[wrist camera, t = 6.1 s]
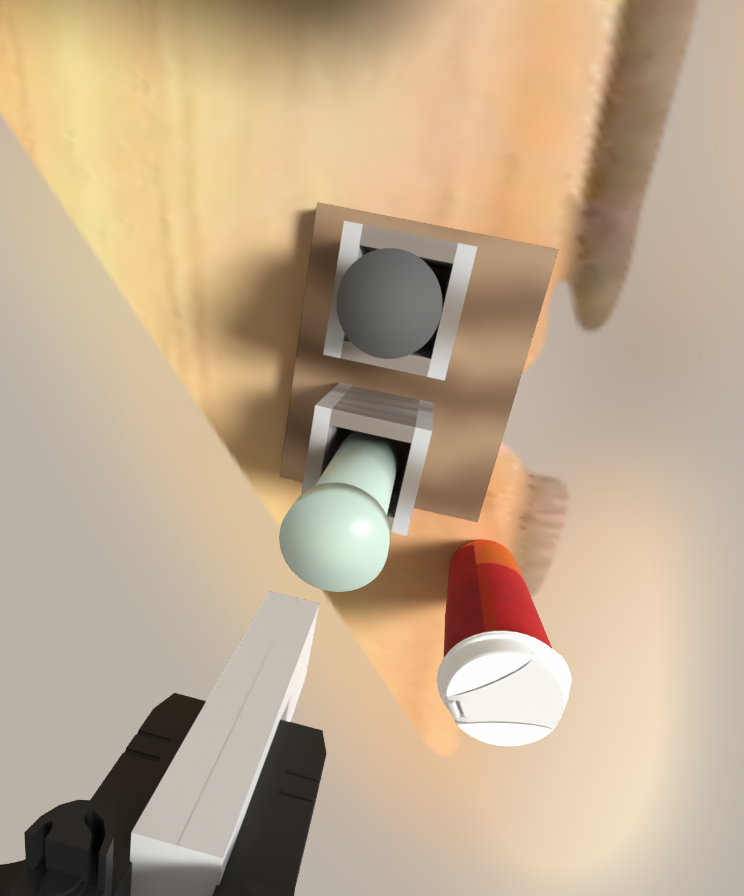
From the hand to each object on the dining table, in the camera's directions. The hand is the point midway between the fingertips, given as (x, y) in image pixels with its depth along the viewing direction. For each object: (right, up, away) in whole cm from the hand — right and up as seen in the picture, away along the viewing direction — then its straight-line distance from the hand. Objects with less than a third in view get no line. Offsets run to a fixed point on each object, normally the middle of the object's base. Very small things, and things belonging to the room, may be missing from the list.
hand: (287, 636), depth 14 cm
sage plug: (+2, +5, +17) cm, 18 cm away
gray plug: (+5, +15, +18) cm, 24 cm away
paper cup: (+12, -5, +27) cm, 30 cm away
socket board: (+5, +11, +22) cm, 25 cm away
